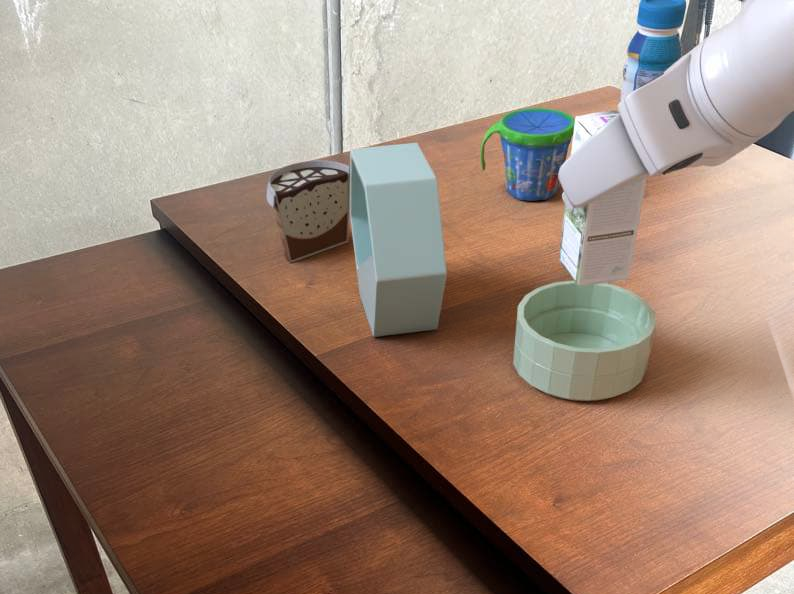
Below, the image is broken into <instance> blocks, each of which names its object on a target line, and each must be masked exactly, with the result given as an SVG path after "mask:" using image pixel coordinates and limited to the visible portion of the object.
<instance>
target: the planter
mask: <svg viewBox="0 0 794 594" xmlns="http://www.w3.org/2000/svg"><path fill="white" fill-rule="evenodd" d="M349 160H350V161H349V166H350V198H349V222H350V228H351V235H352V244H353V251H354V260H355V269H356V276H357V285H358V293H359V297H360V299H361V303H362V306H363V309H364V313H365V316H366V319H367V322H368V326H369V328H370V332H371V335H372V337H373V338H376V337H377V338H378V337H385V336H393V335H401V334H411V333H417V332H418V333H419V332H425V331H426V332H428V331H436V330H438V329H439V323H440V317H441V312H442V311H441V310H442V305H443V298H444V292H445V287H446V281H447V275H448V270H447V262H446V261H447V260H446V250H445V241H444V232H443V223H442V222H443V221H442V214H441V204H440V203H441V201H440V194H439V184H438V177H437V176H436V174H435V172H434V170H433V168H432V167H431V165H430V163H429V161H428V159H427V158H426V156H425V153H424V152H423V150H422V148H421V147H420V145H419V143H418V142H410V143H408V142H407V143H399V144H387V145H377V146H367V147H358V148H350V150H349Z"/></svg>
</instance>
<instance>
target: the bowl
mask: <svg viewBox="0 0 794 594" xmlns="http://www.w3.org/2000/svg"><path fill="white" fill-rule="evenodd" d="M656 328H657V317H656V311H655V310H654V309H653V307H652V306H651V305H650V303H649V302H648V301H647V300H645V299H644V298H643V297H642V296H640V295H638V294H637V293H635V292H633V291H632V290H628V289H627V288H623V287H622V286H619V285H616V284H611V283H602V284H594V285H581V286H579V285H577V284H576V283H575V281H574V280H573V279H572V280H565V281H563V280H562V281H555V282H551V283H548V284H546V285H542V286H539V287H536V288H534V289H533V290H532V291H530V292H528V293H527V294H525V295H524V296H523V298H522V299H521V301H520V302H519V304H518V305H517V311H516V322H515V333H514V344H513V357H512V358H513V359H512V363H513V366H514V368H515V370H516V372H517V373H518V375H519V377H520V378H522V379H523V380H524V381H525V382H526V383H527V384H529V385H530V386H531V387H533V388H535V389H537V390H539V391H540V392H543V393H545V394H547V395H550V396H552V397H556V398H560V399H563V400H568V401H576V402H577V401H579V402H593V401H595V402H596V401H602V400H606V399H611V398H614V397H618V396H620V395H623V394H625V393H628V392H630V391H631V390H633V389H634V388H635V387H637V386H638V385H639V384H640V383H641V382H643V379H644V376H645V374H646V373H647V368H648V365H649V361H650V360H649V359H650V355H651V350H652V347H653V342H654V338H655V337H654V336H655V332H656Z"/></svg>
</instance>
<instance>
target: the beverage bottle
mask: <svg viewBox="0 0 794 594" xmlns="http://www.w3.org/2000/svg"><path fill="white" fill-rule="evenodd" d="M686 10H687V1H686V0H640V2H639V4H638V11H637V17H636V26H637V27H638V28H639V29H638V30H637V31H636V33H635V34H634V35H633V37H632V38H631V40H630V42H629V43H628V47H627V49H626V54H627V60H626V61H625V63H624V65H623V70H622V83H621V90H620V98H619V103H620V102H621V101H622V100H623V99H624V98H625V97H626V96H627V95H629V94H630V93H631V92H633V91H634V90H636V89H638V88H639V87H641V86H642V85H644V84H646V83H648V82H649V81H651V80H653V79H655V78H656V77H658V76H660V75H661V74H663V73H664V72H665V71H666V70H667V69H668V68H669V67H671V66H672V65H673V64H674V63H675V62H677V61H678V60H679V59H680V58H681V57H683V51H684V50H683V42H682V39H681V35H680V33H679V31H678V30H679V29H681V28H682V26H683V24H684V19H685V16H686Z"/></svg>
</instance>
